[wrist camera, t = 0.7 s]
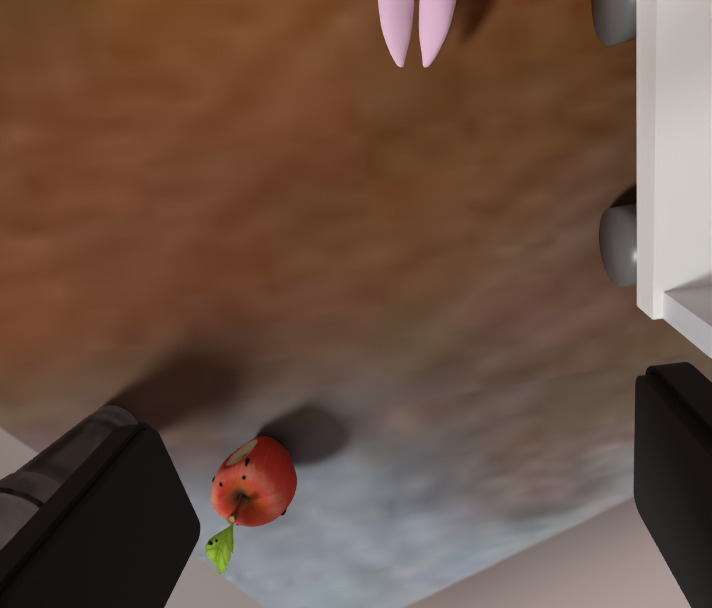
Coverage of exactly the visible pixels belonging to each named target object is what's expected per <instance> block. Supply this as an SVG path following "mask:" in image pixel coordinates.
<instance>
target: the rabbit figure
mask: <svg viewBox="0 0 712 608" xmlns="http://www.w3.org/2000/svg"><path fill="white" fill-rule="evenodd" d="M455 5H456V0H420V2H419V37H420V45H421V52H422V61H423V66H424V67H428V66H429V65H430V64H431V63H432V62H433V60H434V59H435V57H436V56H437V54H438V52H439V50H440V48H441V46H442V44H443V42H444V40H445V38H446V36H447V33H448V30H449V28H450V25H451V21H452V17H453V13H454V9H455ZM378 6H379V14H380V22H381V27H382V31H383V35H384V38H385V41H386V43H387V46H388V48H389V51H390V53H391V55H392V57H393V59H394V61H395V63H396V64H397V65H398V66H399V67H403V66H404V63H405V58H406V53H407V49H408V45H409V41H410V36H411V30H412V21H413V11H414V0H378Z"/></svg>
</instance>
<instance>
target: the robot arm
mask: <svg viewBox="0 0 712 608" xmlns="http://www.w3.org/2000/svg"><path fill="white" fill-rule="evenodd" d="M634 499H635V503H636V506H637V509H638V512H639V514H640V516H641V518H642V520H643V521H644V523H645V525H646V527H647V528H648V530H649V532H650V534H651V536H652V538H653V539H654V541H655V543H656V545H657V546H658V548H659V550H660V552H661V554H662V556H663V557H664V559H665V561H666V563H667V565H668V566H669V568H670V570H671V572H672V574H673V575H674V577H675V578H676V581H677V583H678V584H679V586H680V588H681V590H682V592H683V593H684V595H685V597H686V599H687V600H688V602H689V604H690V606H691V608H712V382H710V381H709V380H708V379H707V378H706V377H705V376H704V375H703V374H702V373H701V372H700V371H698V370H697V369H696V368H695V367H694V366H693V365H691V364H690V363H687V362H682V363H673V364H664V365H655V366H650V367H648V368H647V370H646V375H642V376H638V377H637V379H636V384H635V442H634ZM199 535H200V522H199V519H198V517H197V515H196V513H195V511H194V508H193V506H192V504H191V502H190V500H189V498H188V495H187V493H186V491H185V489H184V487H183V485H182V482H181V480H180V478H179V476H178V474H177V471H176V469H175V467H174V465H173V463H172V461H171V458H170V456H169V454H168V452H167V450H166V448H165V445H164V443H163V441H162V439H161V437H160V435H159V433H158V432H157V431H156V430H153V429H152V428H151V426H149V425H148V424H144V423H142V424H133V425H125V426H119V427H117V428H115V429H114V430H113V431H112V432H111V433H110V434H109V435H108V436H107V437H106V438H105V439H104V441H103V442H102V443H101V444H100V445H99V446H98V447H97V448H96V449H95V450H94V451H93V452H92V453H91V454H90V455H89V457H88V458H87V459H86V460H85V461H84V462H83V463H82V464H81V465H80V466H79V467H78V468H77V469H76V470H75V471H74V473H73V474H72V475H71V476H70V477H69V478H68V479H67V480H66V481H65V482H64V483H63V484H62V485H61V486H60V487H59V488H58V490H57V491H56V492H55V493H54V494H53V495H52V496H51V497H50V498H49V499H48V500H47V501H46V502H45V503H44V504H43V506H42V507H41V508H40V509H39V510H38V511H37V512H36V513H35V514H34V515H33V516H32V517H31V518H30V519H29V520H28V522H27V523H26V524H25V525H24V526H23V527H22V528H21V529H20V530H19V531H18V532H17V533H16V534H15V535H14V536H13V538H12V539H11V540H10V541H9V542H8V543H7V544H6V545H5V546H4V547H3V548H2V549H1V550H0V608H164V607H165V605H166V603H167V601H168V599H169V597H170V595H171V593H172V591H173V589H174V587H175V585H176V583H177V581H178V579H179V577H180V575H181V573H182V571H183V569H184V567H185V565H186V563H187V561H188V559H189V557H190V555H191V553H192V551H193V549H194V547H195V545H196V543H197V541H198V539H199Z"/></svg>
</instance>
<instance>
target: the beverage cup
mask: <svg viewBox="0 0 712 608" xmlns="http://www.w3.org/2000/svg"><path fill="white" fill-rule="evenodd" d="M133 424H138V422H137V420H136V419H135V417H134V416H133V415H132V414H131V413H130V412H129V411H127V410H125V409H124V408H122V407H118V406H115V405H106V406H103V407H101V408H100V409H98V410H97V411H96V412H94V413H93V414H92V415H89V416H88V417H86V418H85V419H84V420H83V421H81V422H80V423H79V424H77V425H76V426H75V427H73V428H72V429H71V430H70V431H68V432H67V433H66V434H64V435H63V436H62V437H60V438H59V439H58V440H56V441H55V442H54V443H53V444H51V445H50V446H49V447H47V448H46V449H45V450H43V451H42V452H41V453H39V454H38V455H37V456H36V457H34V458H33V459H32V460H30V461H29V462H28V463H27V464H25V465H24V466H23V467H21V468H20V469H19V470H17V471H16V472H15V473H12V474H9V475H8V476H6V477H5V478H3V479H1V480H0V550H1V549H2V548H3V547H4V546H5V545H6V544H7V543H8V542H9V541H10V540H11V539H12V538H13V536H14V535H15V534H16V533H17V532H18V531H19V530H20V529H21V528H22V527H23V526H24V525H25V524H26V523H27V522H28V520H29V519H30V518H31V517H32V516H33V515H34V514H35V513H36V512H37V511H38V510H39V509H40V508H41V507H42V506H43V504H44V503H45V502H46V501H47V500H48V499H49V498H50V497H51V496H52V495H53V494H54V493H55V492H56V491H57V490H58V488H59V487H60V486H61V485H62V484H63V483H64V482H65V481H66V480H67V479H68V478H69V477H70V476H71V475H72V474H73V473H74V471H75V470H76V469H77V468H78V467H79V466H80V465H81V464H82V463H83V462H84V461H85V460H86V459H87V458H88V457H89V455H90V454H91V453H92V452H93V451H94V450H95V449H96V448H97V447H98V446H99V445H100V444H101V443H102V442H103V441H104V439H105V438H106V437H107V436H108V435H109V434H110V433H111V432H112V431H113V430H114V429H115V428H117V427H119V426H125V425H133Z"/></svg>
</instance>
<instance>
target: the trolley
mask: <svg viewBox="0 0 712 608" xmlns="http://www.w3.org/2000/svg"><path fill="white" fill-rule="evenodd" d="M592 15H593V22H594V27H595V30H596V33H597V36H598V38H599V40H600V41H601V43H602V44H604V45H606V46H610V45H614V44H618V43H622V42H626V41H630V40H634V39H637V203H635V204H630V205H625V206H619V207H614V208H609V209H607V210H605V212H604V213H603V215H602V218H601V221H600V228H599V243H600V251H601V256H602V261H603V264H604V267H605V270H606V272H607V274H608V276H609V278H610V280H611V281H612V282H613V283H614V284H615V285H616V286H618V287H625V286H631V285H637V306H638V307H639V308H640V309H641V310H642V311H644V312H645V313H646V314H647V315H648V316H649V317H650V318H652V319H653V320H654V319H661V318H663V319H664V320H665V321H667V322H668V323H669V324H670V325H671V326H673V327H674V328H675V329H676V330H678V331H679V332H680V333H681V334H682V335H684V336H685V337H686V338H687V339H688V340H690V341H691V342H692V343H693V344H694V345H696V346H697V347H698V348H699V349H701V350H702V351H703V352H704V353H705V354H707V355H708V356H709V357H710V358H711V359H712V0H592Z"/></svg>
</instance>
